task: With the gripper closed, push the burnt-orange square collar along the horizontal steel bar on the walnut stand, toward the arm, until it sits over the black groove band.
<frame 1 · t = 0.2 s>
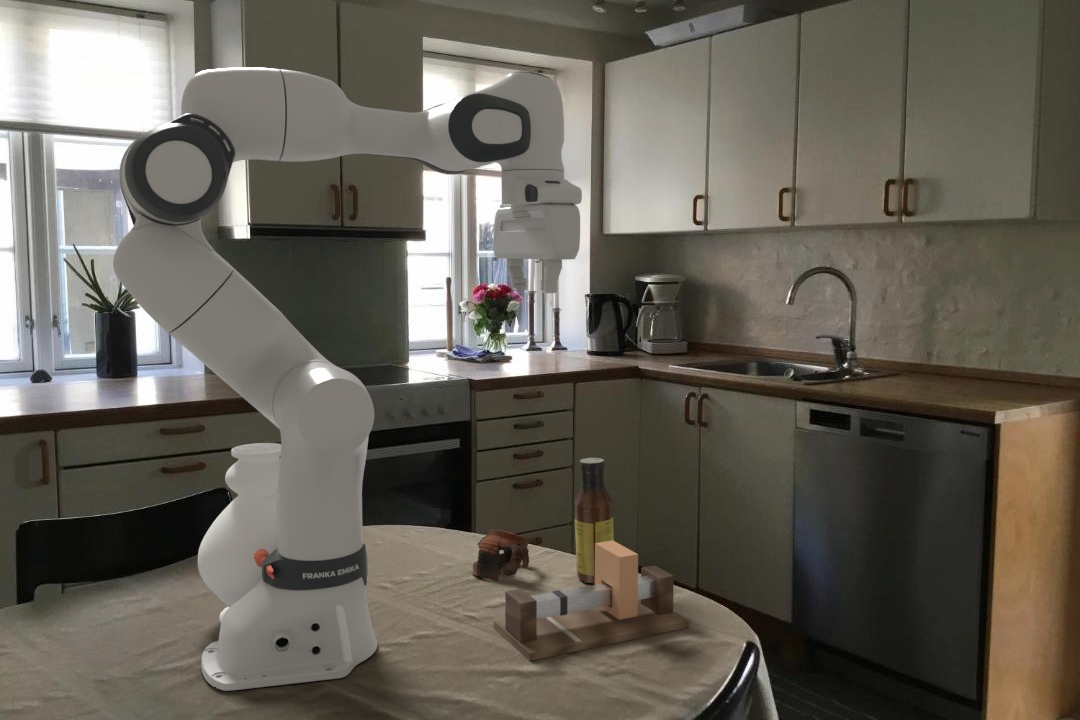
hand: (533, 291, 132), 47 cm above the table, fingers open, 8 cm apart
broken clay pot: (503, 575, 155), on the table
decorative vase: (264, 616, 137), on the table
rod stand: (591, 627, 132), on the table
sauce bottle: (594, 580, 152), on the table
collar: (615, 579, 133), point 6 cm above the table, slide at 4.0 cm
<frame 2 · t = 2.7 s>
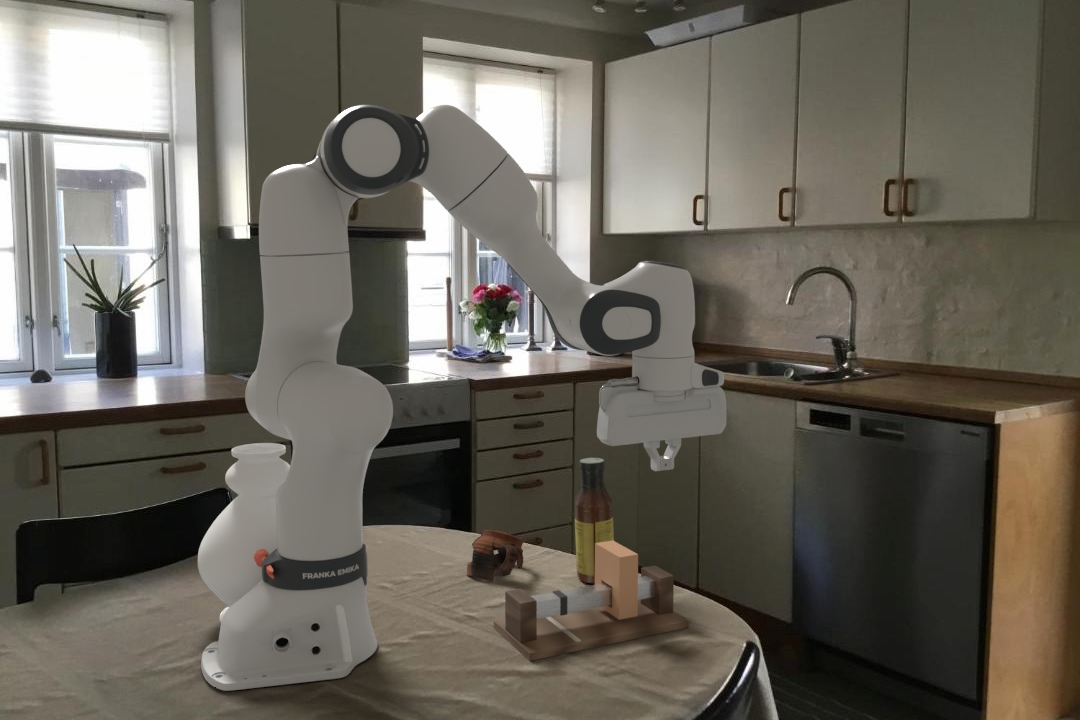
hand: (662, 469, 135), 22 cm above the table, fingers closed
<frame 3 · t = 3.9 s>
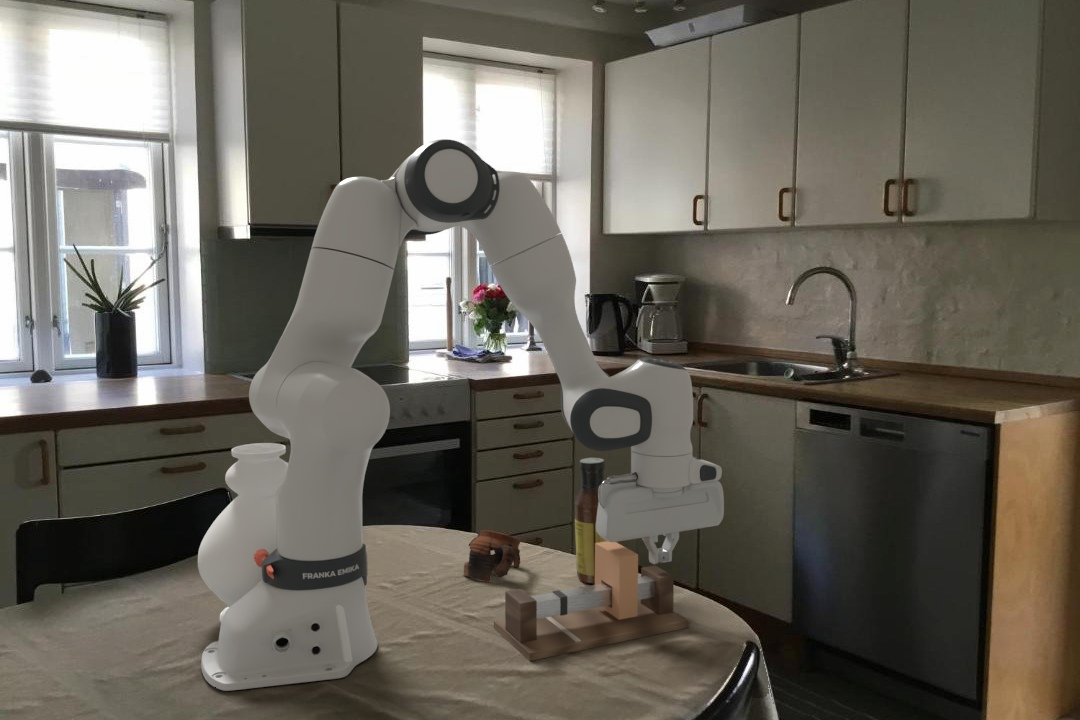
hand: (660, 561, 136), 8 cm above the table, fingers closed
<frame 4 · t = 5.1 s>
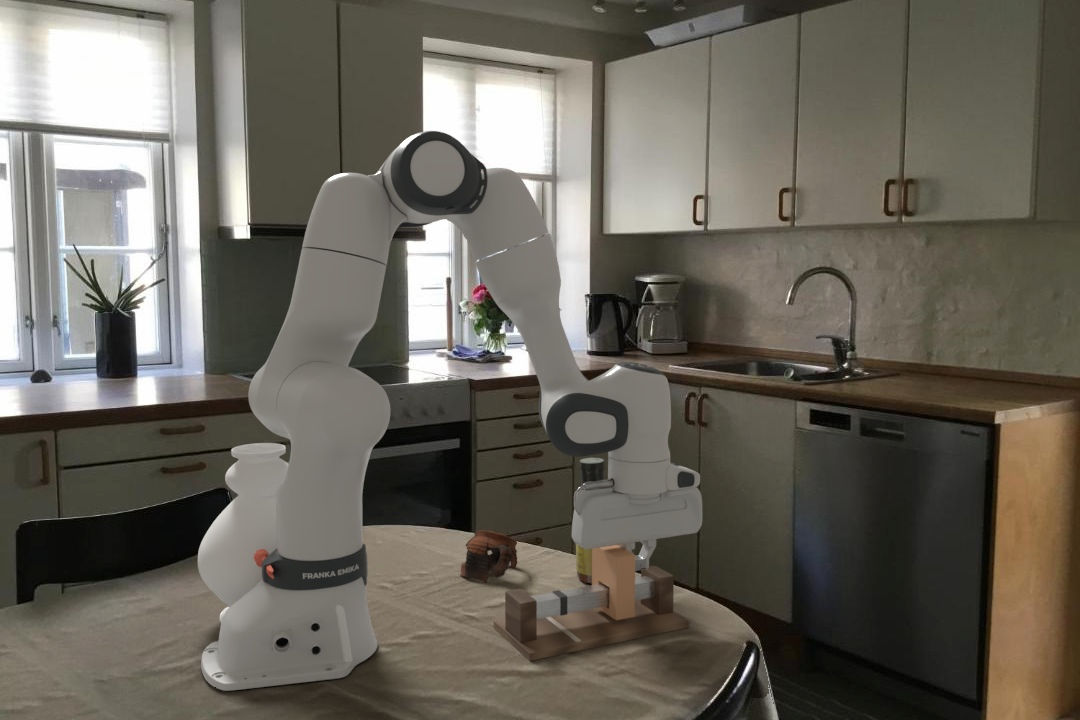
hand: (637, 569, 135), 7 cm above the table, fingers closed
collar: (613, 579, 133), point 6 cm above the table, slide at 3.5 cm, touching gripper
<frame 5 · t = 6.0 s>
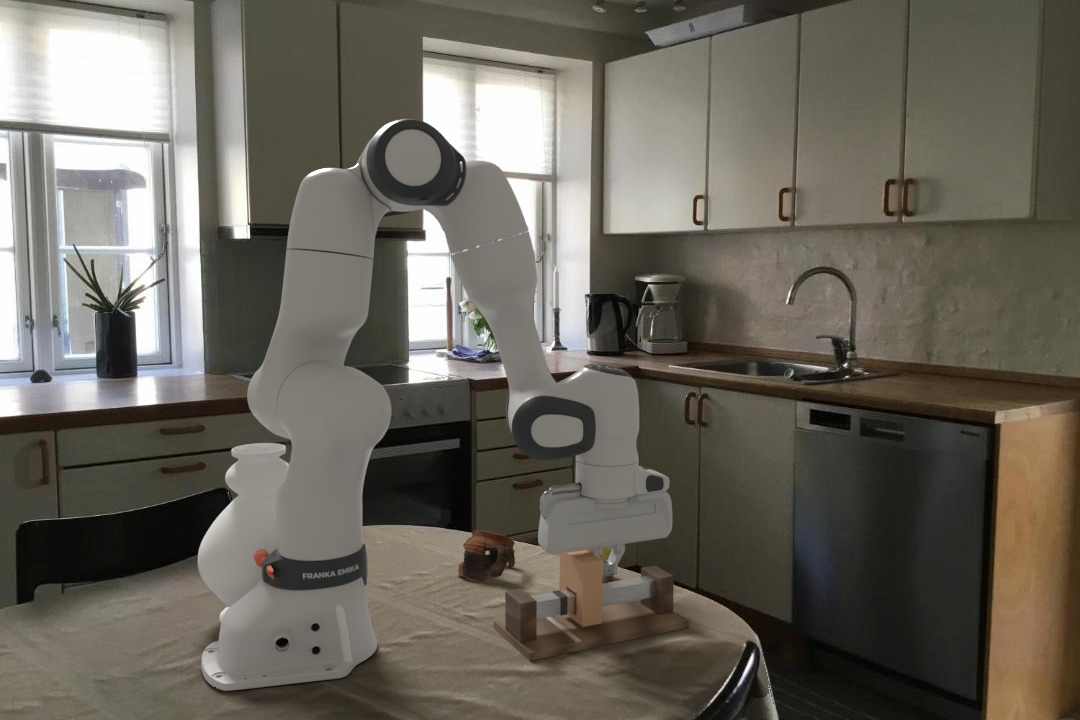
hand: (605, 574, 132), 7 cm above the table, fingers closed
collar: (580, 585, 131), point 6 cm above the table, slide at -1.7 cm, touching gripper
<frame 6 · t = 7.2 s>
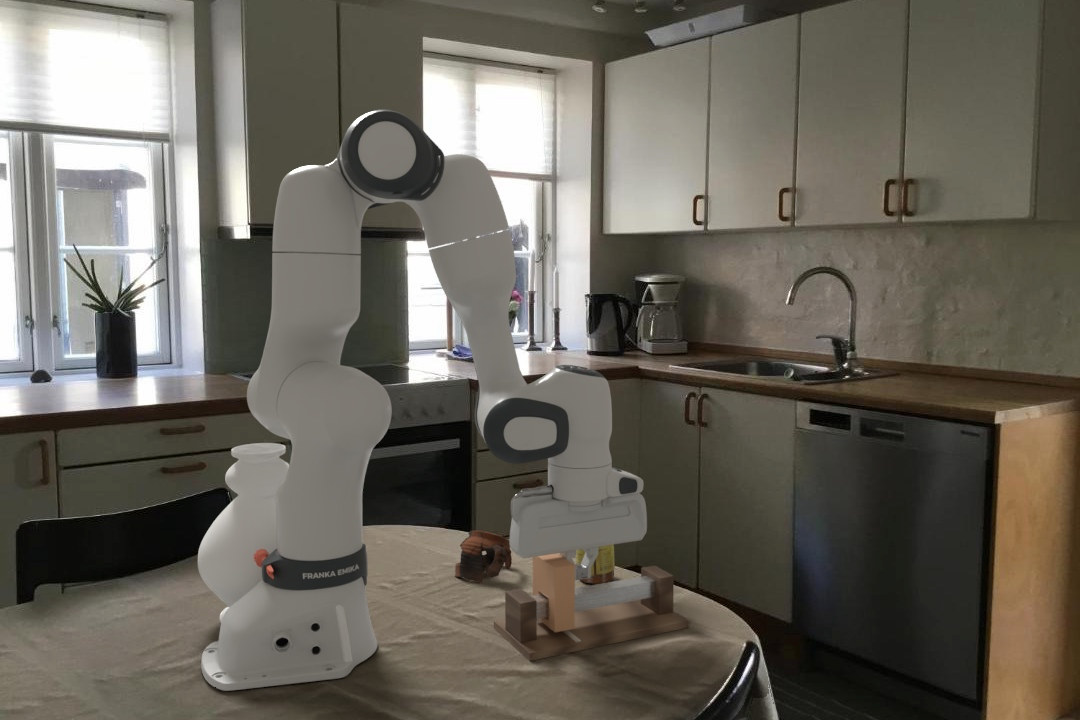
hand: (579, 578, 131), 8 cm above the table, fingers closed
collar: (553, 590, 129), point 6 cm above the table, slide at -6.0 cm, touching gripper
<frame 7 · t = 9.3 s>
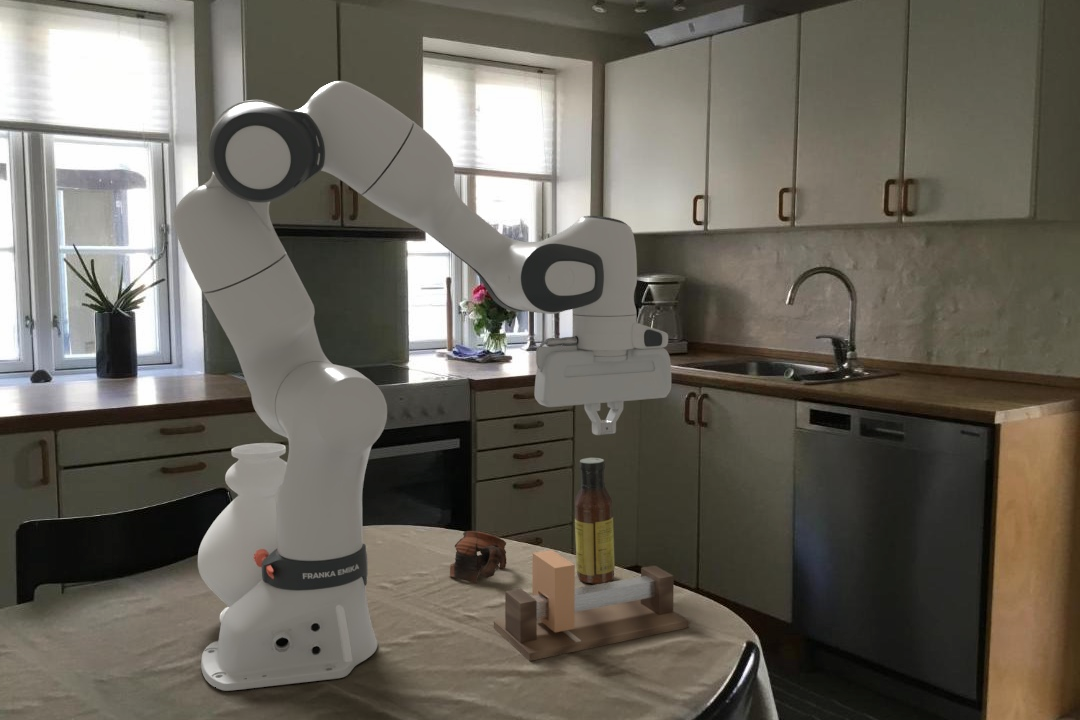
hand: (603, 433, 130), 28 cm above the table, fingers closed
collar: (553, 590, 129), point 6 cm above the table, slide at -6.1 cm
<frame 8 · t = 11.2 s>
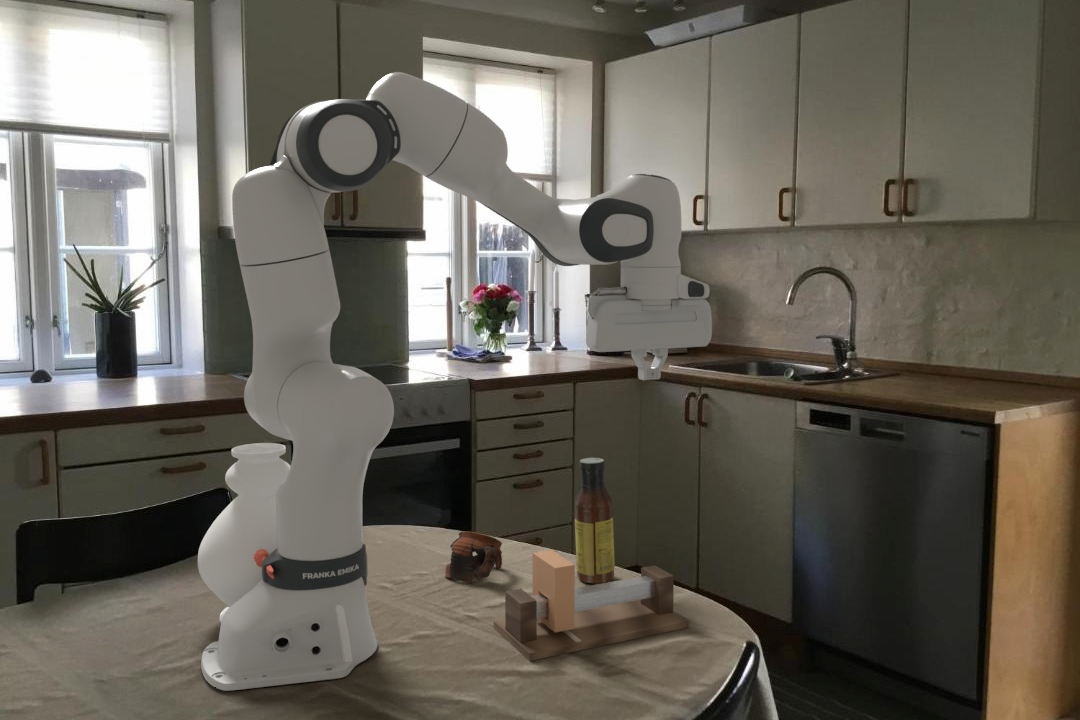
hand: (649, 379, 139), 34 cm above the table, fingers closed
at the end: collar slide at -6.1 cm; sauce bottle moved 0.2 cm from its start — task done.
